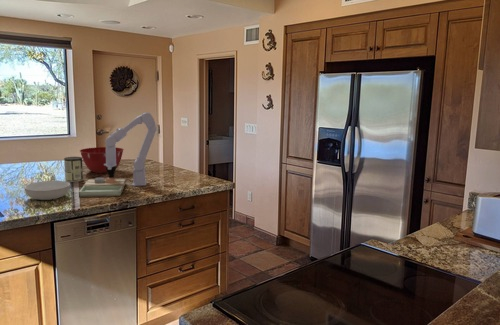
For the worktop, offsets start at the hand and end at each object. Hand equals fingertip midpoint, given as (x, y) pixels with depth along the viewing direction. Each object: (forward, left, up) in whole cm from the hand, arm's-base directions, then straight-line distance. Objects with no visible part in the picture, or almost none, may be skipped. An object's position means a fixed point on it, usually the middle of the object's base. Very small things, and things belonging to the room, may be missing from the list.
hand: (111, 179), depth 230 cm
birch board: (+4, -3, -4) cm, 6 cm away
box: (+18, -3, -4) cm, 19 cm away
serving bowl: (+26, -28, -4) cm, 38 cm away
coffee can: (-15, -24, -4) cm, 29 cm away
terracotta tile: (+4, 0, -1) cm, 4 cm away
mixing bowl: (-42, -11, -4) cm, 44 cm away
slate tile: (+4, -6, -1) cm, 7 cm away
